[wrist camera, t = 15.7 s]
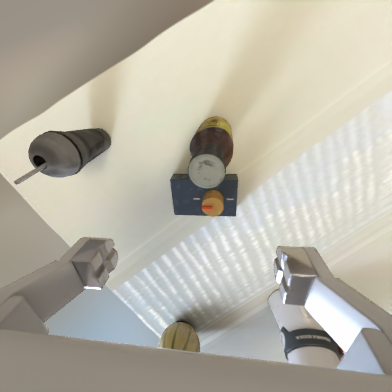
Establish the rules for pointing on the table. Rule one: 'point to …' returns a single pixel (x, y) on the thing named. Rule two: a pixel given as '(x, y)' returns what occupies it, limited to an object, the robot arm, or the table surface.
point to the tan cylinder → (213, 203)
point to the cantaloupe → (180, 338)
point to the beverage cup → (65, 151)
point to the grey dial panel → (193, 195)
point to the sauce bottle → (210, 152)
